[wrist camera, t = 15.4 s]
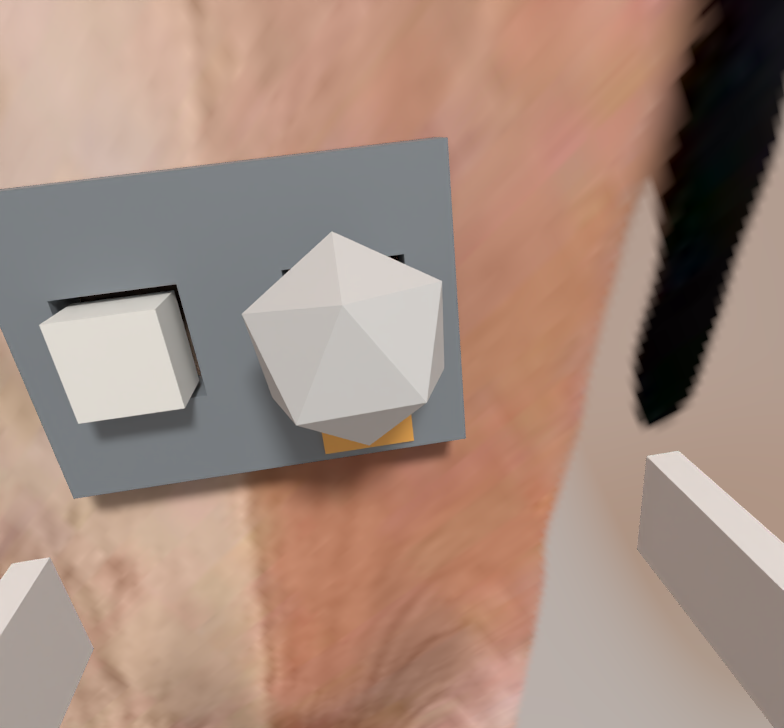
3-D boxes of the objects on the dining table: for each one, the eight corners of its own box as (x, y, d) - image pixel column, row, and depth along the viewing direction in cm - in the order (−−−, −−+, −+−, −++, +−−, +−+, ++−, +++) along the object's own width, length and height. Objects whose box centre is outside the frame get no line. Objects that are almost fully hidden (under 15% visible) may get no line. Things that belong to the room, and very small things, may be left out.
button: (104, 394, 28) (78, 423, 25) (71, 303, 26) (39, 324, 23) (199, 380, 29) (184, 408, 26) (173, 290, 27) (155, 309, 24)
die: (274, 397, 29) (389, 514, 23) (171, 299, 22) (298, 433, 16) (380, 294, 30) (511, 382, 25) (314, 173, 23) (476, 256, 18)
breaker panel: (95, 467, 32) (72, 501, 29) (-15, 191, 26) (-59, 198, 23) (454, 413, 33) (466, 440, 31) (435, 137, 27) (448, 137, 24)
